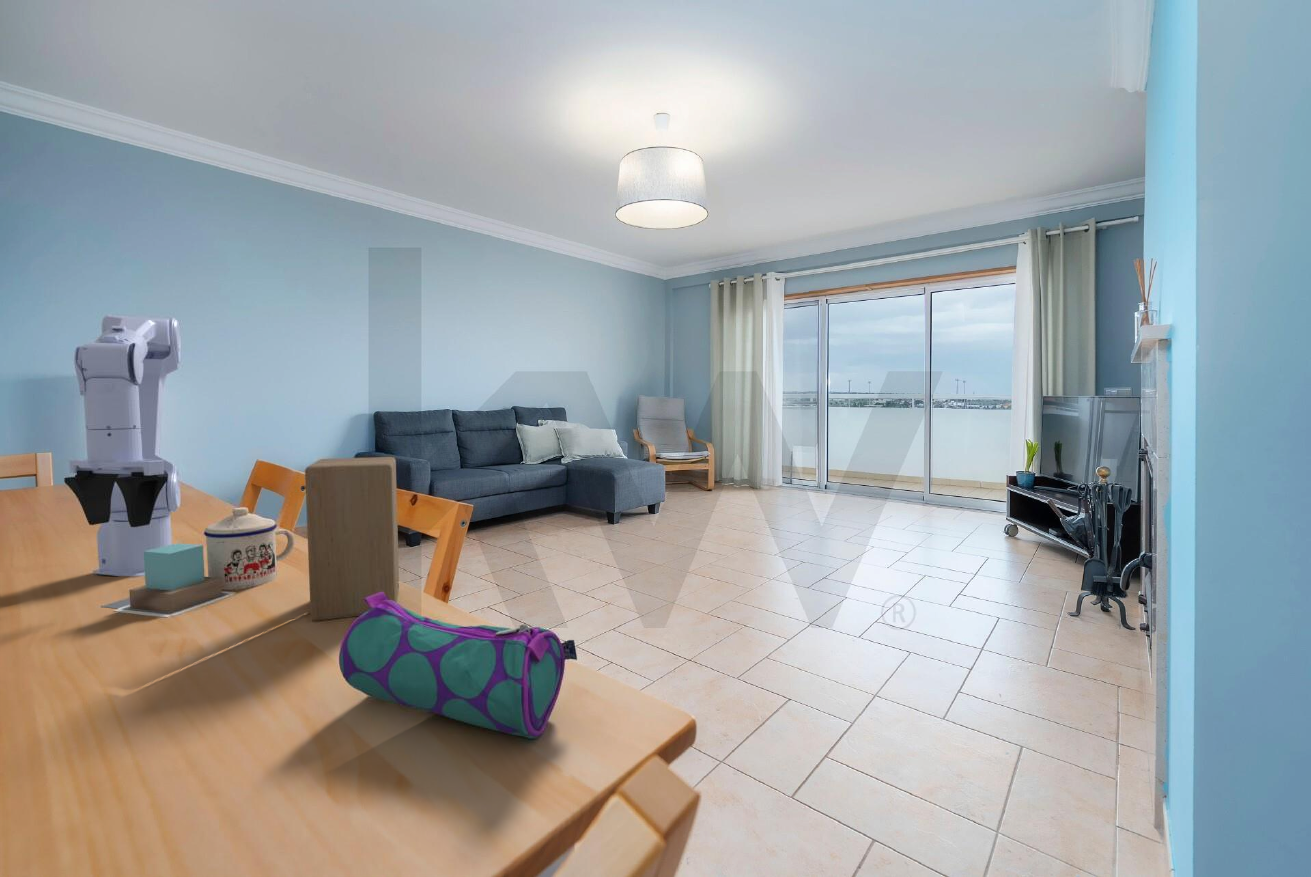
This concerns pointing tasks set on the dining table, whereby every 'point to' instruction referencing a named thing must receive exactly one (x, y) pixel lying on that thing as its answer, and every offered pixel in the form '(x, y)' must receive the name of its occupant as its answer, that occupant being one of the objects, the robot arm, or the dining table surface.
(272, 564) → the teacup with lid
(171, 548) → the teal cube
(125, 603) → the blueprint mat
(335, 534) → the wooden block
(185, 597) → the walnut base
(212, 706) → the dining table surface
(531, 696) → the pencil case
